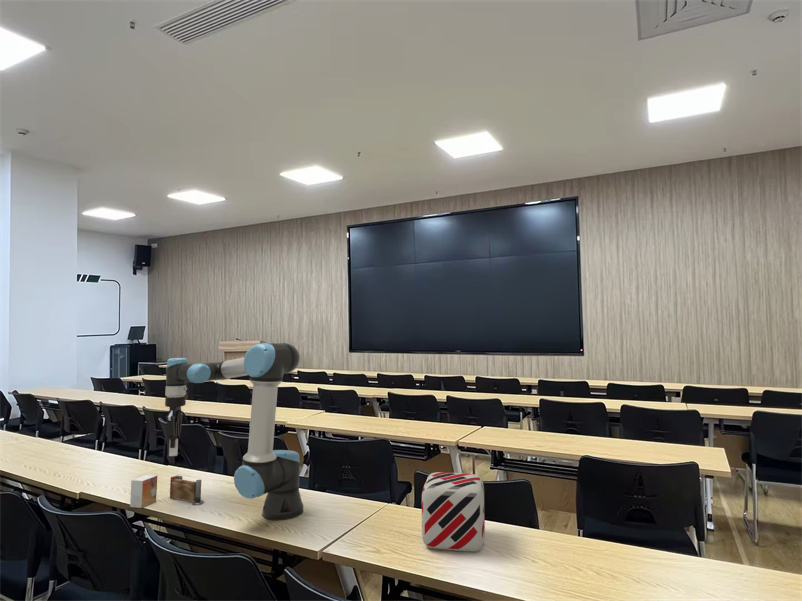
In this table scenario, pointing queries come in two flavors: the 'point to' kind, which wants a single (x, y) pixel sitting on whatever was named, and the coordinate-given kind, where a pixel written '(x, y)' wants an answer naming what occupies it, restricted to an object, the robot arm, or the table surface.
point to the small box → (143, 491)
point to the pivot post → (198, 494)
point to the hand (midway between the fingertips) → (173, 455)
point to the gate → (182, 489)
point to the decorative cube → (453, 511)
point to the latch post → (178, 477)
